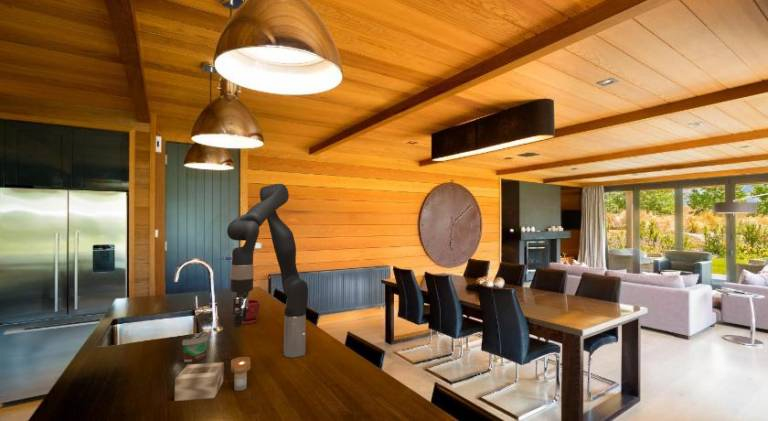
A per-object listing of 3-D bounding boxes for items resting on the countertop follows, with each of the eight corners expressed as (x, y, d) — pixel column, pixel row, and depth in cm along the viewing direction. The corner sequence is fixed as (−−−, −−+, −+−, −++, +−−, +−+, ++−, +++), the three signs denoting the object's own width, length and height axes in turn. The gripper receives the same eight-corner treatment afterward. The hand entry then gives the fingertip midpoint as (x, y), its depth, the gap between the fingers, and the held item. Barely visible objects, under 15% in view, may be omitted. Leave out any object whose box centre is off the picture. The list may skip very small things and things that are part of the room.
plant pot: (254, 325, 202) (255, 304, 202) (231, 325, 202) (231, 303, 202) (262, 319, 215) (263, 299, 215) (240, 319, 215) (241, 298, 215)
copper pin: (251, 383, 130) (252, 356, 130) (248, 391, 124) (248, 363, 124) (232, 384, 129) (233, 357, 129) (228, 392, 123) (229, 364, 123)
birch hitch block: (223, 381, 131) (223, 362, 131) (214, 397, 119) (214, 376, 119) (187, 384, 128) (187, 364, 129) (174, 401, 117) (175, 379, 117)
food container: (194, 366, 145) (195, 341, 145) (181, 364, 146) (182, 339, 146) (214, 355, 157) (215, 331, 157) (202, 354, 158) (203, 330, 158)
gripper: (249, 280, 121) (248, 328, 121) (256, 274, 135) (255, 317, 135) (225, 280, 120) (224, 329, 119) (235, 274, 134) (233, 318, 133)
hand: (240, 323), depth 127 cm, fingers open, 8 cm apart
